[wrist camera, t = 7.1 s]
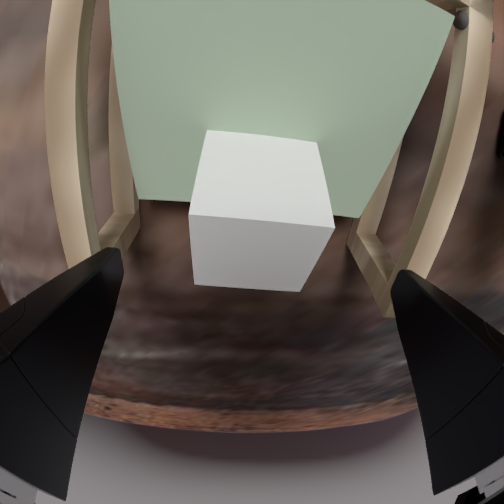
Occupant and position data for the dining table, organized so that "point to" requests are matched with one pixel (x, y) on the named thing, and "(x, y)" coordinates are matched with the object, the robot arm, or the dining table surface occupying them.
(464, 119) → the trapdoor frame
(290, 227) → the plain light gray cube
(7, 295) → the dining table surface
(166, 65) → the trapdoor
